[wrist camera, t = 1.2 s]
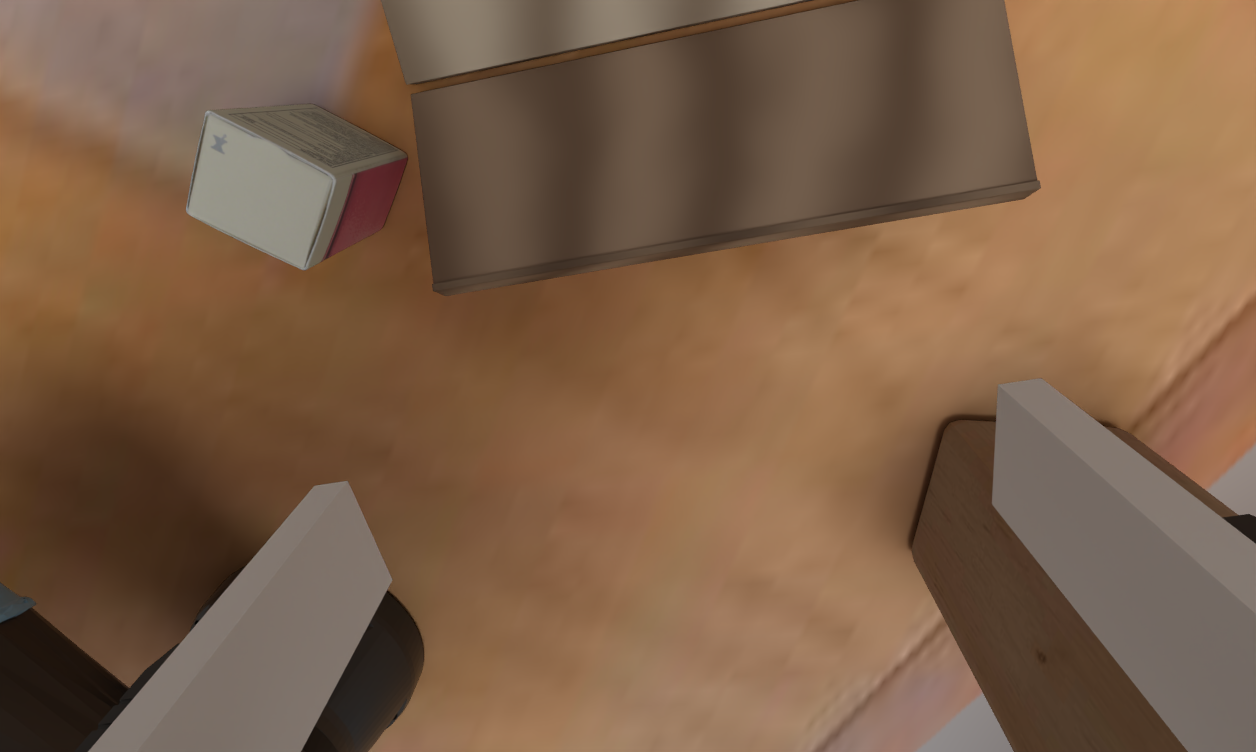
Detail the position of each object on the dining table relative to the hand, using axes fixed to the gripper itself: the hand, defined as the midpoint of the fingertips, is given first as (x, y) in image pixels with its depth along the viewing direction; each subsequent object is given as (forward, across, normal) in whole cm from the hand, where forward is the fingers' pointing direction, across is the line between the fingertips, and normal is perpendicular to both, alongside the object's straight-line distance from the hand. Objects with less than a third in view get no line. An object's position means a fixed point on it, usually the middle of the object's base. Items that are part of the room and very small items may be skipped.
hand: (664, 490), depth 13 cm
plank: (+19, +3, +4) cm, 19 cm away
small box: (+21, -14, +7) cm, 26 cm away
